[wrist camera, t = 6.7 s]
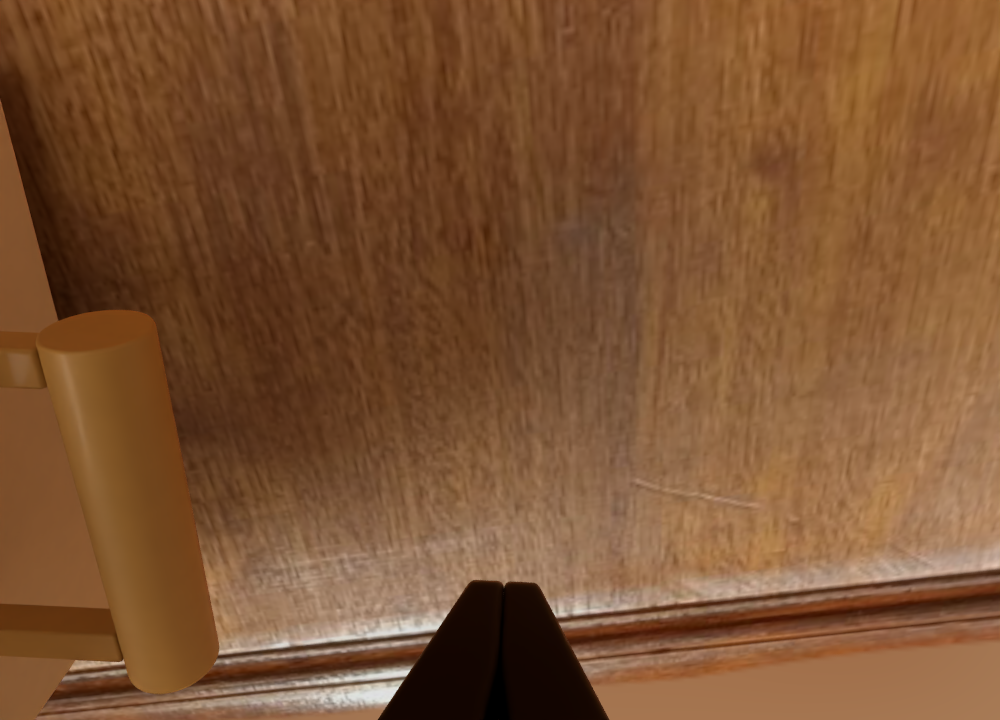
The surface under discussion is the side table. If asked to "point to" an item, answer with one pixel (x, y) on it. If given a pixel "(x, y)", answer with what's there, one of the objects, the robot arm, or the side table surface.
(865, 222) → the side table surface
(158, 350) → the drawer
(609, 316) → the side table surface
